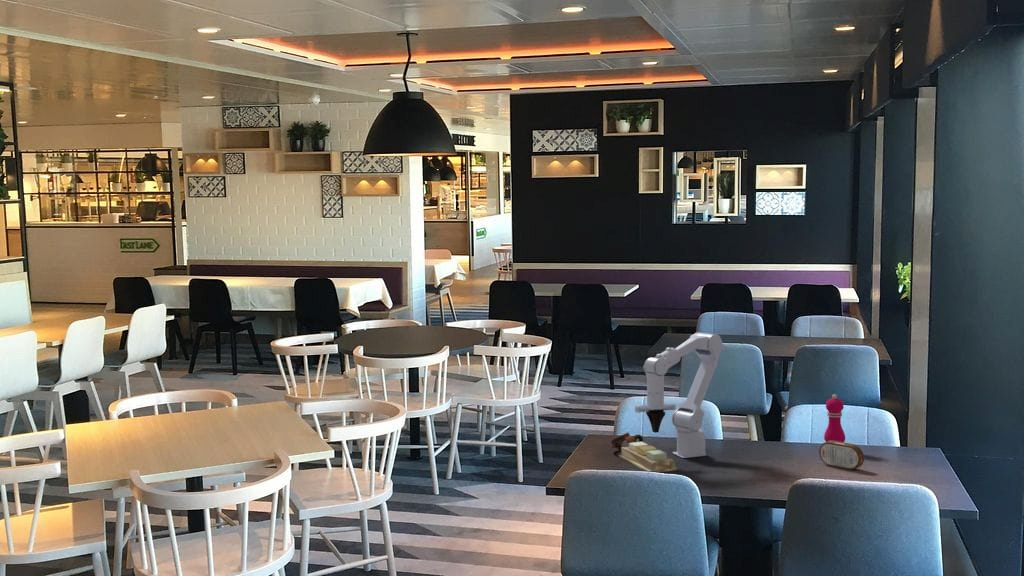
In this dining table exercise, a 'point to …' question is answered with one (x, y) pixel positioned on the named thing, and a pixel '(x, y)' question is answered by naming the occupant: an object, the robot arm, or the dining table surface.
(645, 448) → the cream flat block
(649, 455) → the sage key
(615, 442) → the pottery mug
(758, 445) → the dining table surface
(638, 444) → the ivory key
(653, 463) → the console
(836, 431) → the pepper mill
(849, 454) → the tin
